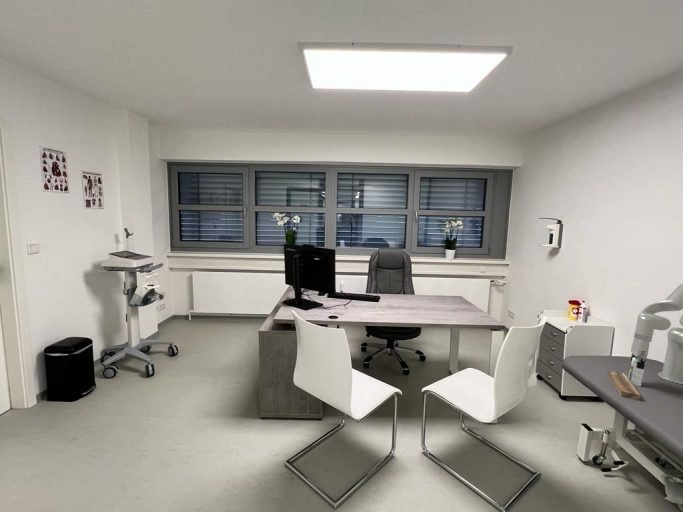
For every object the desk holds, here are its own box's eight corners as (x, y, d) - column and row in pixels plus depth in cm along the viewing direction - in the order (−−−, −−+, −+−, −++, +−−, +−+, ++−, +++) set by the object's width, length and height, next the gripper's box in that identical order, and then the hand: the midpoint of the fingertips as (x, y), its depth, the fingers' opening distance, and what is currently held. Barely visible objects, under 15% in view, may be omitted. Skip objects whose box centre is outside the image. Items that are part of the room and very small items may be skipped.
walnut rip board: (624, 378, 200) (625, 373, 200) (639, 400, 177) (641, 395, 176) (607, 375, 203) (608, 370, 203) (620, 396, 180) (621, 390, 180)
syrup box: (627, 379, 199) (632, 356, 197) (640, 383, 195) (645, 359, 193) (627, 383, 195) (632, 359, 192) (641, 387, 191) (646, 363, 189)
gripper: (629, 330, 200) (624, 357, 202) (640, 340, 184) (633, 369, 187) (645, 333, 197) (639, 361, 199) (657, 343, 181) (651, 373, 184)
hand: (636, 365), depth 193 cm, fingers open, 9 cm apart
